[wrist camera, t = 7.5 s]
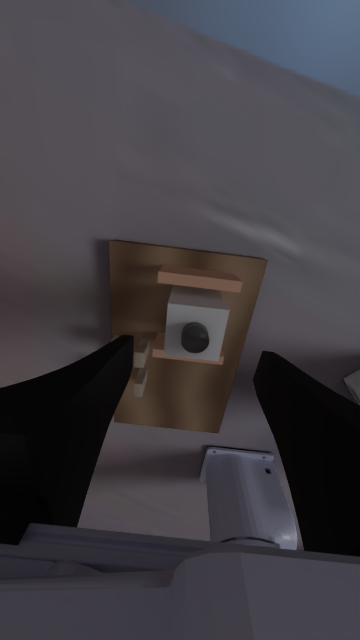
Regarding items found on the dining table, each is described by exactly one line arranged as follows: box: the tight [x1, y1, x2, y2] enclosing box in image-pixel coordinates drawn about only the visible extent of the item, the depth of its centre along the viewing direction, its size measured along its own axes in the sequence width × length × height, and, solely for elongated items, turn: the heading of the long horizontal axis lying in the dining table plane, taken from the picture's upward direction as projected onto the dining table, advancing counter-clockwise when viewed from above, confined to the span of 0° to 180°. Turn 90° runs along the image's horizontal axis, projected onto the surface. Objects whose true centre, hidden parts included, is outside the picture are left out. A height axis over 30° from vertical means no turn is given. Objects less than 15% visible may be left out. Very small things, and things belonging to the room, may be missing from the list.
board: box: [109, 240, 268, 433], centre depth 20 cm, size 13×21×4 cm, turn 173°
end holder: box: [152, 265, 243, 365], centre depth 17 cm, size 6×7×3 cm
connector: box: [164, 285, 230, 361], centre depth 15 cm, size 4×4×6 cm
